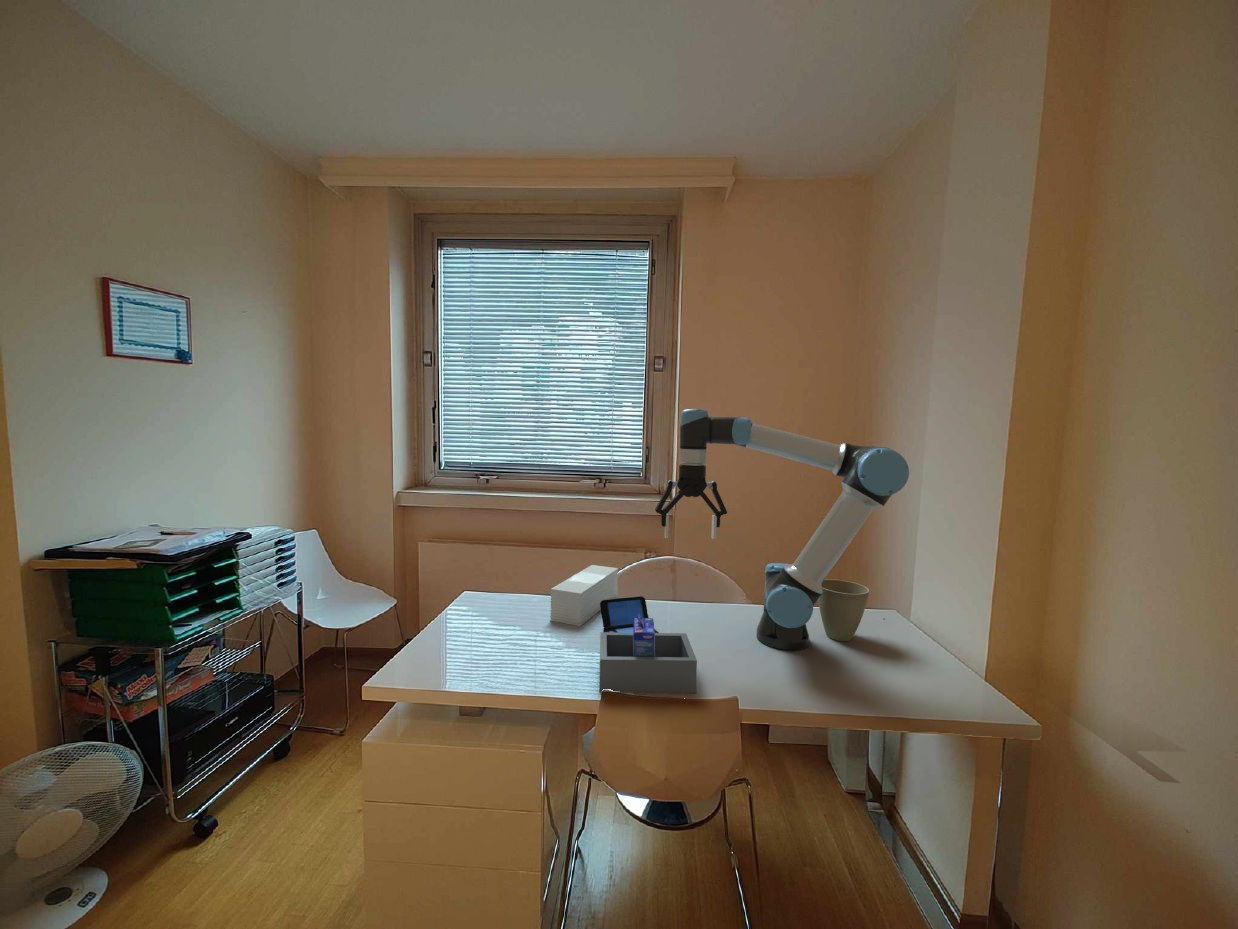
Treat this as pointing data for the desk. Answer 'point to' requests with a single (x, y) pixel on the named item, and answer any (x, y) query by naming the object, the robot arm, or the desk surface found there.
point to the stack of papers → (583, 594)
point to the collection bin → (647, 664)
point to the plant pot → (842, 607)
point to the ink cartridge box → (643, 637)
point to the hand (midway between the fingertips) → (690, 538)
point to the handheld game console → (622, 613)
